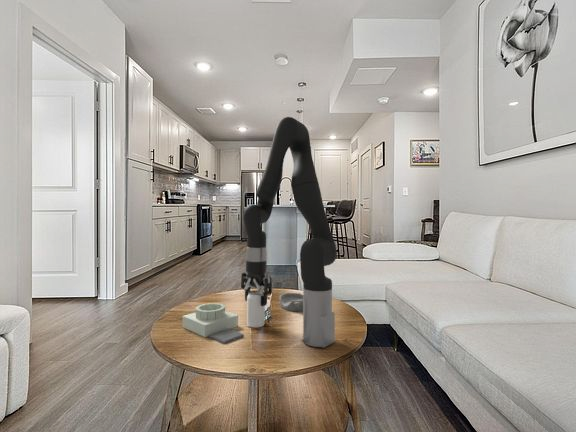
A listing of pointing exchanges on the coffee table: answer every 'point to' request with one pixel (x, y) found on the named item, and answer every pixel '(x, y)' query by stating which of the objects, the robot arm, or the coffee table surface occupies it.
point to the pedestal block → (210, 319)
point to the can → (255, 310)
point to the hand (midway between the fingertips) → (255, 303)
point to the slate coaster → (226, 335)
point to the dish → (291, 301)
